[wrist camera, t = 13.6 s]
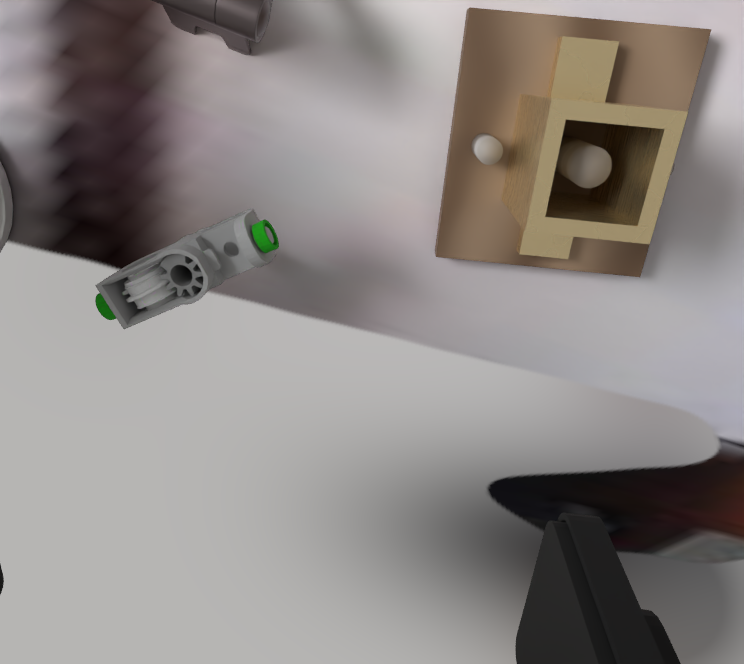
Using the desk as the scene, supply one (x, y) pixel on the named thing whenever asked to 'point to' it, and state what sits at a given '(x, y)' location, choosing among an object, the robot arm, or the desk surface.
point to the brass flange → (621, 141)
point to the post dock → (579, 140)
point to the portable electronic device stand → (222, 19)
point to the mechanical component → (186, 269)
